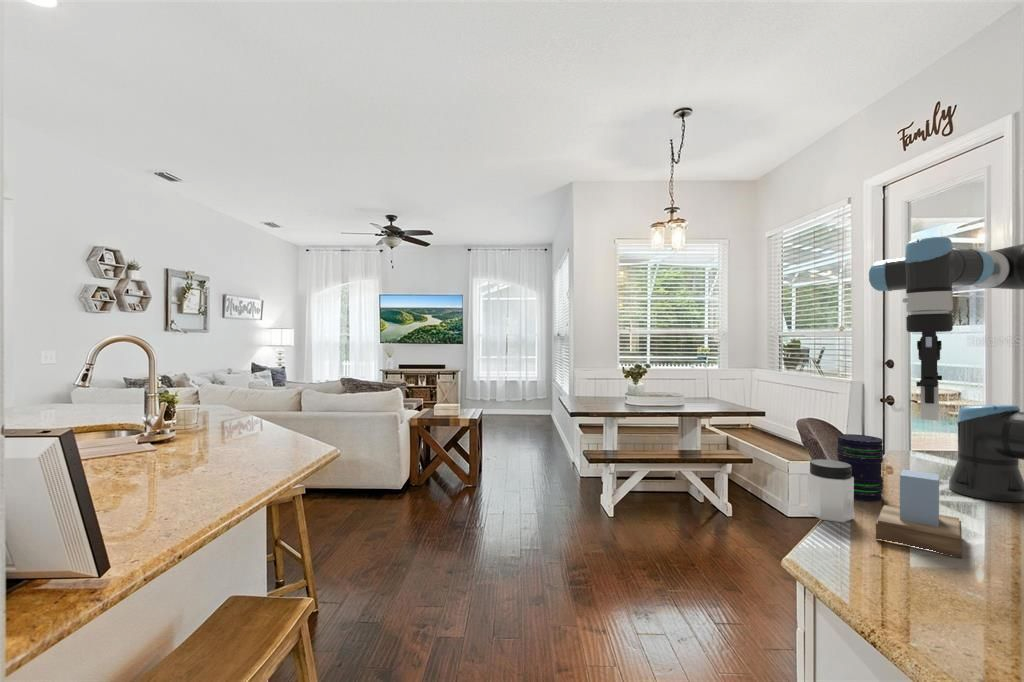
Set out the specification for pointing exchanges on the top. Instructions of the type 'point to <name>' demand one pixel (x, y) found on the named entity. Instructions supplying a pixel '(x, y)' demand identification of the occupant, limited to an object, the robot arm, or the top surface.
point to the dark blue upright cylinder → (863, 464)
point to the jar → (831, 490)
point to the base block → (920, 532)
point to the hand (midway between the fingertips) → (930, 414)
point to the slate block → (919, 497)
